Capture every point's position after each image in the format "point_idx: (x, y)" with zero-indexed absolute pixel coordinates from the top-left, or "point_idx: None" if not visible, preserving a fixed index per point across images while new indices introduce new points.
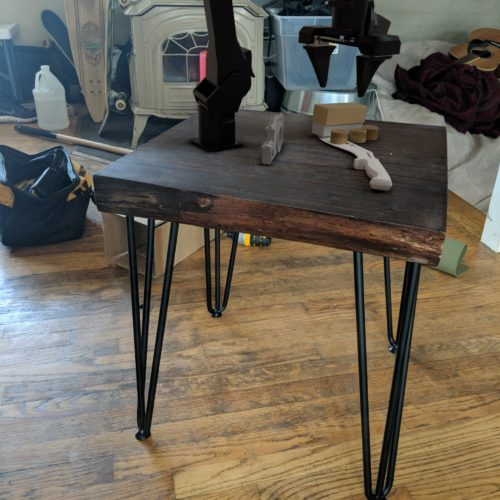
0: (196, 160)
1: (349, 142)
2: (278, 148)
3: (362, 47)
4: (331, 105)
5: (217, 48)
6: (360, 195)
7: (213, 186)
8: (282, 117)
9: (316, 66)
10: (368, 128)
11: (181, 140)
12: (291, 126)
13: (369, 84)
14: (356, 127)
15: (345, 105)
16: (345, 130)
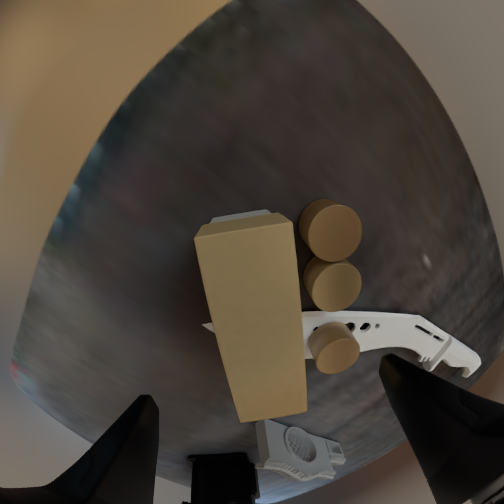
0: (273, 478)
1: (346, 318)
2: (292, 430)
3: None
4: (266, 386)
5: None
6: (454, 380)
7: (346, 470)
8: (278, 463)
9: (151, 499)
10: (343, 250)
11: (189, 476)
12: (135, 351)
13: (433, 374)
14: (317, 280)
15: (271, 333)
16: (346, 345)
